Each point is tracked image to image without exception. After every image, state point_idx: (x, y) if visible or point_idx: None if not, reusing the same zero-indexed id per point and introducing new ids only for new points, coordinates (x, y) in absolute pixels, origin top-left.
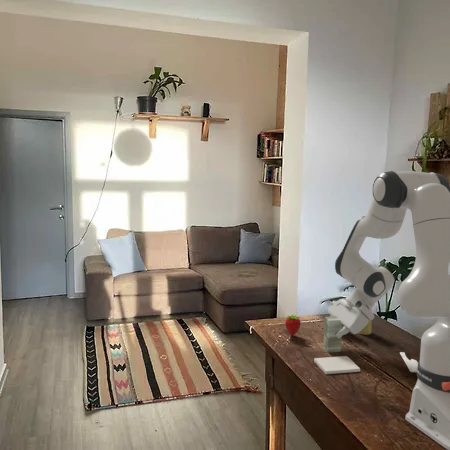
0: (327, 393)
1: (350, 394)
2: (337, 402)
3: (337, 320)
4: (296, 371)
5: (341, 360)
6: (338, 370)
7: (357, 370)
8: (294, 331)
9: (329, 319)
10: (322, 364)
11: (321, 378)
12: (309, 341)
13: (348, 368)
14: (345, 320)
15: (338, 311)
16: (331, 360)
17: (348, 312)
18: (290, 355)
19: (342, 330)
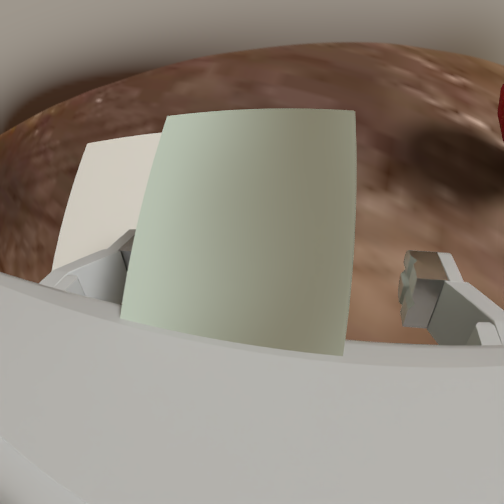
0: (38, 130)
1: (12, 182)
2: (15, 143)
3: (135, 260)
4: (154, 69)
5: None
6: (71, 192)
7: None
8: (501, 129)
9: (203, 136)
10: (127, 147)
11: (84, 130)
12: (454, 218)
13: (63, 238)
14: (16, 318)
15: (413, 480)
16: (139, 199)
17: (24, 496)
18: (286, 69)
19: (72, 264)
